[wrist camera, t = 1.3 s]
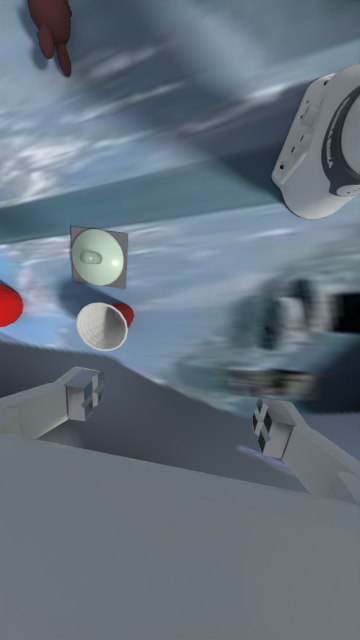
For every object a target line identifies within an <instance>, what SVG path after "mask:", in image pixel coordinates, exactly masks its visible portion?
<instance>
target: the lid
mask: <svg viewBox="0 0 360 640" xmlns="http://www.w3.org/2000/svg"><path fill="white" fill-rule="evenodd" d="M72 260H73V264H74V267H75V269H76V271H77V272H78V274H79V275H80V276H81V277H82V278H83V279H84V280H86V281H87V282H89V283H91V284H94V285H107V284H110V283H112V282H114V281H115V280H116V279H117V278H118V277H119V276H120V274H121V272H122V270H123V266H124V256H123V252H122V249H121V247H120V245H119V243H118V242H117V240H116V239H115V238H114V237H113V236H112V235H110V234H109V233H107V232H105V231H102V230H98V229H90V230H87V231H84V232H83V233H81V234H80V235H79V236H78V237H77V238H76V240H75V242H74V244H73V247H72Z"/></svg>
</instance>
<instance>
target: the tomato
mask: <svg viewBox="0 0 360 640" xmlns="http://www.w3.org/2000/svg"><path fill="white" fill-rule="evenodd" d="M22 310H23V302H22V299H21V297H20V296H19V295H18V294H17V293H16V292H15V291H13V290H12V289H10V288H9V287H7V286H4V285H2V284H0V327H4V326H7V325H9V324H12V323H14V322H15V321H16V320H17V319H18V318H19V317H20V315H21V314H22Z"/></svg>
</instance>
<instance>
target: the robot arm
mask: <svg viewBox="0 0 360 640" xmlns="http://www.w3.org/2000/svg"><path fill="white" fill-rule="evenodd" d="M324 84H326V85H324ZM280 166H282V167H283V169H280ZM272 180H273V182H274V183H275V184H276V185H277V186H278V187H279V188H280V190H281V192H282V195H283V198H284V201H285V203H286V205H287V206H288V208H289V209H290V210H291V211H292V212H293V213H295V214H296V215H298V216H300V217H303V218H307V219H318V218H323V217H326V216H328V215H331V214H333V213H334V212H336V211H337V210H339V209H340V208H341V207H343V206H344V205H345V204H346V203H347V202H349V201H350V200H351V199H353V198H354V197H355V196H357V195H358V194H360V64H355V65H351V66H348V67H345V68H343V69H341V70H340V71H338V72H337V73H334V74H330V75H326V76H324V77H321V78H319V79H318V80H316V81H314V82H313V83H311V84H310V86H309V87H308V88H307V90H306V92H305V94H304V96H303V99H302V101H301V104H300V106H299V108H298V111H297V113H296V116H295V118H294V121H293V123H292V126H291V128H290V130H289V133H288V135H287V138H286V140H285V143H284V145H283V148H282V150H281V152H280V155H279V157H278V160H277V162H276V165H275V167H274V170H273V172H272ZM103 380H104V373H103V372H102V371H97V370H92V369H87V368H80V367H74V368H73V369H71V370H70V371H68V372H67V373H66V374H64V375H63V376H62V377H61V378H59V379H58V380H57V381H55V382H54V383H53V384H52V383H48V384H45V385H42V386H39V387H35V388H32V389H29V390H26V391H23V392H20V393H16V394H13V395H10V396H7V397H4V398H1V399H0V640H360V462H359V461H358V460H356V459H355V458H353V457H352V456H351V455H349V454H348V453H346V452H345V451H344V450H342V449H341V448H339V447H338V446H336V445H335V444H334V443H332V442H331V441H329V440H328V439H327V438H325V437H324V436H322V435H321V434H320V433H318V432H317V431H315V430H314V429H310V428H309V426H308V425H307V424H306V422H305V421H304V419H303V418H302V416H301V415H300V414H299V412H298V411H297V409H296V408H295V407H294V405H293V404H292V403H291V402H286V401H277V400H271V399H264V398H258V400H257V403H256V406H257V408H258V409H257V410H256V411H254V414H253V429H254V432H255V433H256V434H257V435H258V436H259V438H258V443H259V446H260V449H261V452H262V455H267V456H271V457H276V458H280V459H282V461H283V462H284V463H285V464H286V465H287V466H288V468H289V469H290V470H291V471H292V472H293V473H294V474H295V476H296V477H297V478H298V479H299V480H300V481H301V483H302V484H303V485H304V486H305V487H306V488H307V489H308V491H309V492H310V493H311V494H307V493H301V492H297V491H291V490H286V489H281V488H276V487H271V486H266V485H260V484H256V483H251V482H246V481H241V480H236V479H231V478H226V477H221V476H216V475H211V474H206V473H201V472H196V471H192V470H187V469H181V468H176V467H171V466H166V465H161V464H156V463H151V462H146V461H141V460H136V459H131V458H126V457H121V456H116V455H111V454H106V453H101V452H96V451H90V450H86V449H80V448H76V447H71V446H66V445H61V444H56V443H51V442H46V441H41V440H36V438H38V437H39V436H41V435H43V434H44V433H46V432H48V431H49V430H51V429H53V428H54V427H56V426H58V425H59V424H61V423H62V422H64V421H66V420H67V419H74V420H80V421H85V420H86V419H87V418H88V417H89V415H90V414H91V413H92V411H93V407H94V406H96V405H98V404H99V402H100V401H101V399H102V396H103V394H104V385H103V383H102V381H103Z"/></svg>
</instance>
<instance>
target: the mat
mask: <svg viewBox="0 0 360 640" xmlns="http://www.w3.org/2000/svg"><path fill="white" fill-rule="evenodd" d="M87 230H90V229H87V228H79V227H71V239H72V247H73V244H74V242H75V240H76V238H77V237H78V236H79V235H80V234H81V233H83V232H84V231H87ZM102 231H103V230H102ZM105 232H107V233H109V234H110V235H112V236H113V237H114V238H115V239H116V240H117V242H118V243H119V245H120V247H121V249H122V252H123V256H124V266H123V270H122V272H121V274H120V276H119V277H118V278H117V279H116V280H115V281H114V282H112V283H110V284H107V285H102V286H109V287H116V288H122V289H126V270H127V248H128V234H126V233H118V232H111V231H105ZM72 267H73V281H76V282H83V283H89V282H87V281H86V280H84V279H83V278H82V277H81V276H80V275H79V274H78V272H77V271H76V269H75V267H74V264H73V260H72ZM89 284H91V283H89Z"/></svg>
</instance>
